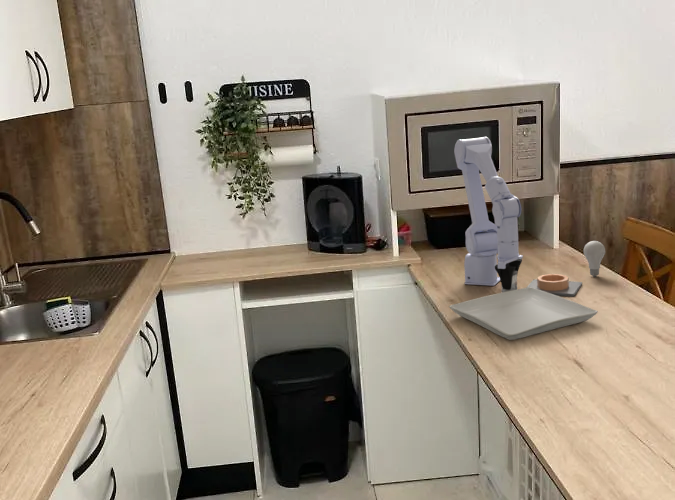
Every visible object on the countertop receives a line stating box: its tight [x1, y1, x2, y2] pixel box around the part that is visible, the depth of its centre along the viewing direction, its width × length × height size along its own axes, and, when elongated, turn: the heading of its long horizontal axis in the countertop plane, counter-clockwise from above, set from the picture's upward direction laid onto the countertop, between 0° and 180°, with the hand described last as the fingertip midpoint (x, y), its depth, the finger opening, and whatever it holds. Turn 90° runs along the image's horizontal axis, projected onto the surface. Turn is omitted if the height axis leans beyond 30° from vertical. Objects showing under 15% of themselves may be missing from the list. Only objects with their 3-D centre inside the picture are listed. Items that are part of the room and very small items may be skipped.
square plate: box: [448, 286, 599, 341], centre depth 186 cm, size 27×27×4 cm
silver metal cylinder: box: [501, 270, 518, 293], centre depth 207 cm, size 5×5×7 cm
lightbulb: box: [583, 240, 606, 278], centre depth 217 cm, size 6×6×11 cm
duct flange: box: [525, 273, 583, 298], centre depth 209 cm, size 14×12×3 cm
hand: (509, 286), depth 207 cm, fingers closed on silver metal cylinder, 4 cm apart
